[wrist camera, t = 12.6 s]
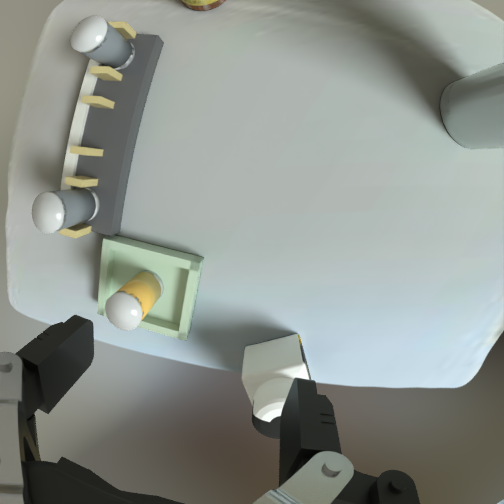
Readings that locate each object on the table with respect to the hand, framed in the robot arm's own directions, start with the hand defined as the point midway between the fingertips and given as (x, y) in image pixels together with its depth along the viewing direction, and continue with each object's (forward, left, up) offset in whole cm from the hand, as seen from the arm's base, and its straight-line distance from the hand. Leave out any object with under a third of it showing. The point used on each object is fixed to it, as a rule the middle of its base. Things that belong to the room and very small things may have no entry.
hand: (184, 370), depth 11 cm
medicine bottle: (-9, +15, -26) cm, 31 cm away
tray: (+9, +8, -26) cm, 29 cm away
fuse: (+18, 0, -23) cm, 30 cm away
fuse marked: (+9, +8, -25) cm, 28 cm away
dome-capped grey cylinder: (+18, -18, -23) cm, 35 cm away
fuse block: (+18, -9, -26) cm, 33 cm away
